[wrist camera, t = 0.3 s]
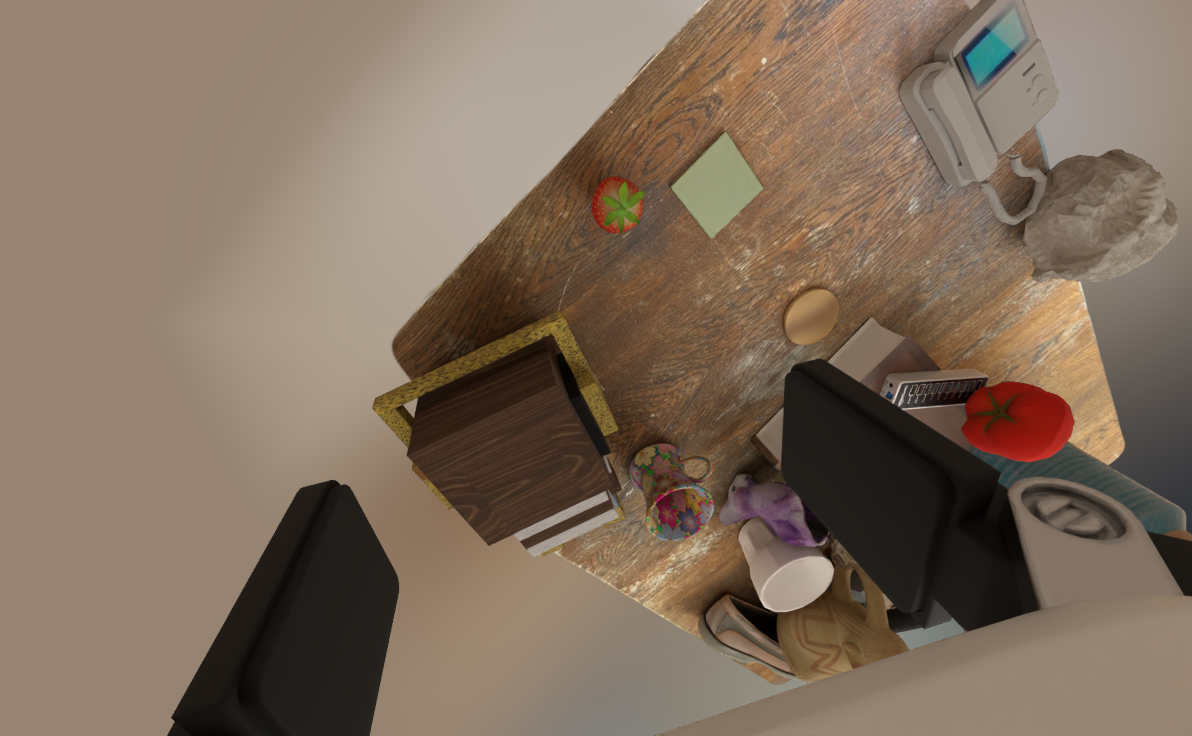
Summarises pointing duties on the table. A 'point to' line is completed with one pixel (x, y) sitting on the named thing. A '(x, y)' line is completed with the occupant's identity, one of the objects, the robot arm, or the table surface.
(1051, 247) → the stone
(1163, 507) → the vase
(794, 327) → the coaster
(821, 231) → the table surface
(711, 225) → the napkin
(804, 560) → the cup
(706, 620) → the loafer
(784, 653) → the ceramic vessel
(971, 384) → the multiport hub
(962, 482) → the robot arm
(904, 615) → the flashlight
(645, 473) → the mug
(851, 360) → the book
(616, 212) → the fruit
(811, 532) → the figurine
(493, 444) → the brown wooden box
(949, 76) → the intercom
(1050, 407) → the tomato
